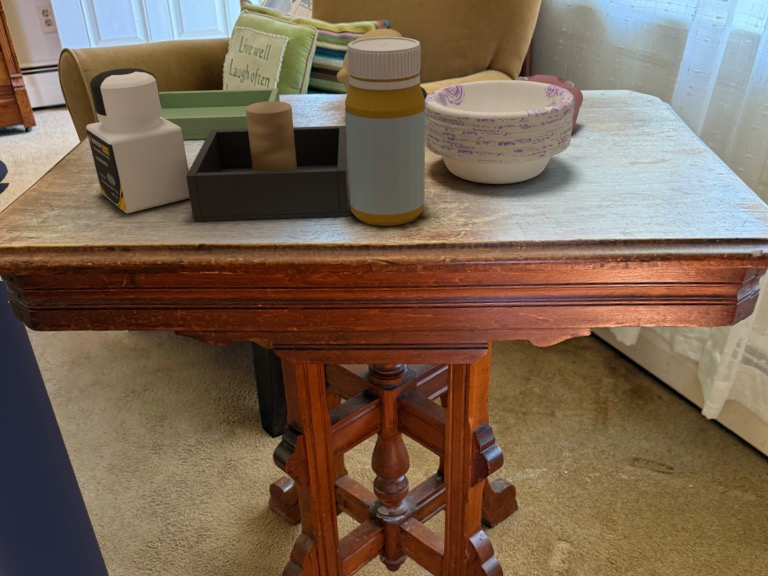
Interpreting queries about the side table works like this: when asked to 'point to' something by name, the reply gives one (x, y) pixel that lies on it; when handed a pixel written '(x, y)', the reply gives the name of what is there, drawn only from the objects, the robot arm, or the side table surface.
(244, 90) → the tray
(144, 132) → the medicine bottle
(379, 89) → the bottle
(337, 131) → the bin
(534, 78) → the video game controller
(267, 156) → the brown wooden cylinder
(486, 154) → the paper bowls
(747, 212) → the side table surface
